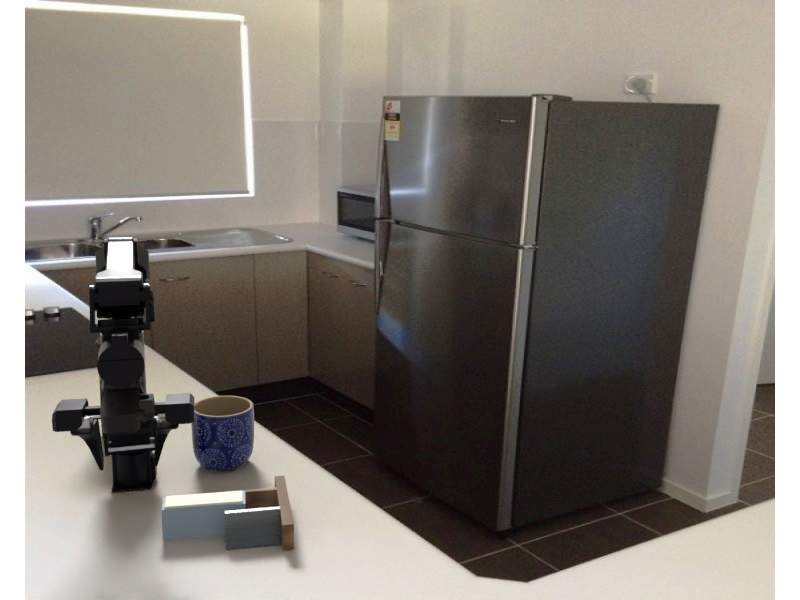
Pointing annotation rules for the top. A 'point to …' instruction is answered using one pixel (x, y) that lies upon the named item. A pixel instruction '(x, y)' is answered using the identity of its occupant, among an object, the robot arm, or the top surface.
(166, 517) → the book
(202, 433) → the planter
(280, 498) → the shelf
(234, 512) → the bookend
